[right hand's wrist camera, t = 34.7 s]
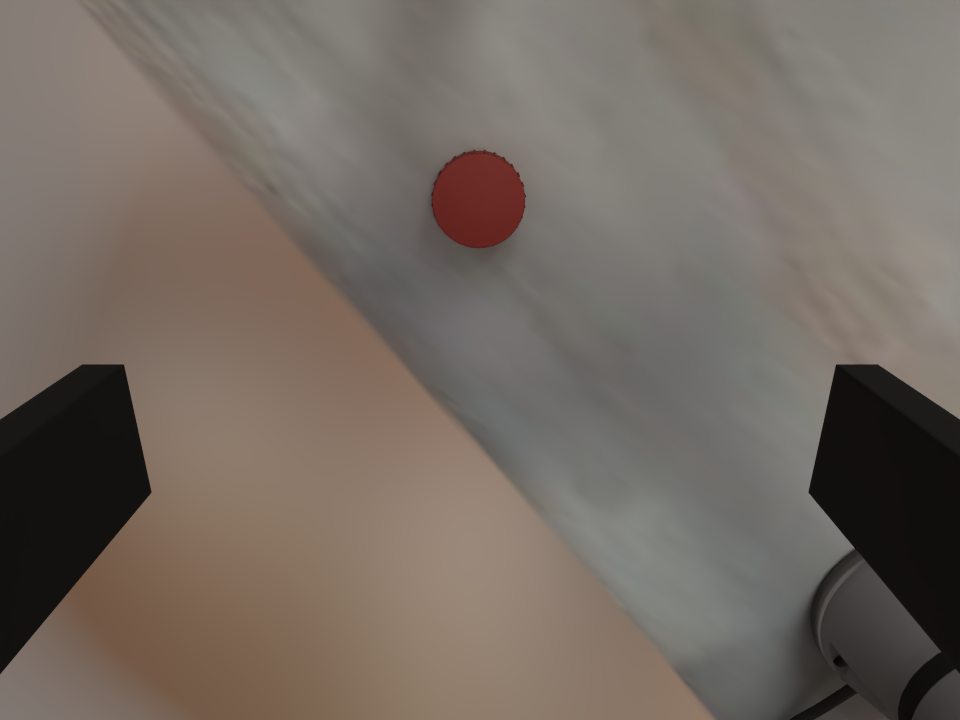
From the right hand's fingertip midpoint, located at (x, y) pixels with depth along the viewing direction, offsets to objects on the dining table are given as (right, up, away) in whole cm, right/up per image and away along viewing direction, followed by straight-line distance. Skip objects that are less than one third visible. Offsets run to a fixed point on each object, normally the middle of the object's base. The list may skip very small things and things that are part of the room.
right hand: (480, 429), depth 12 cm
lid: (0, +11, +26) cm, 28 cm away
